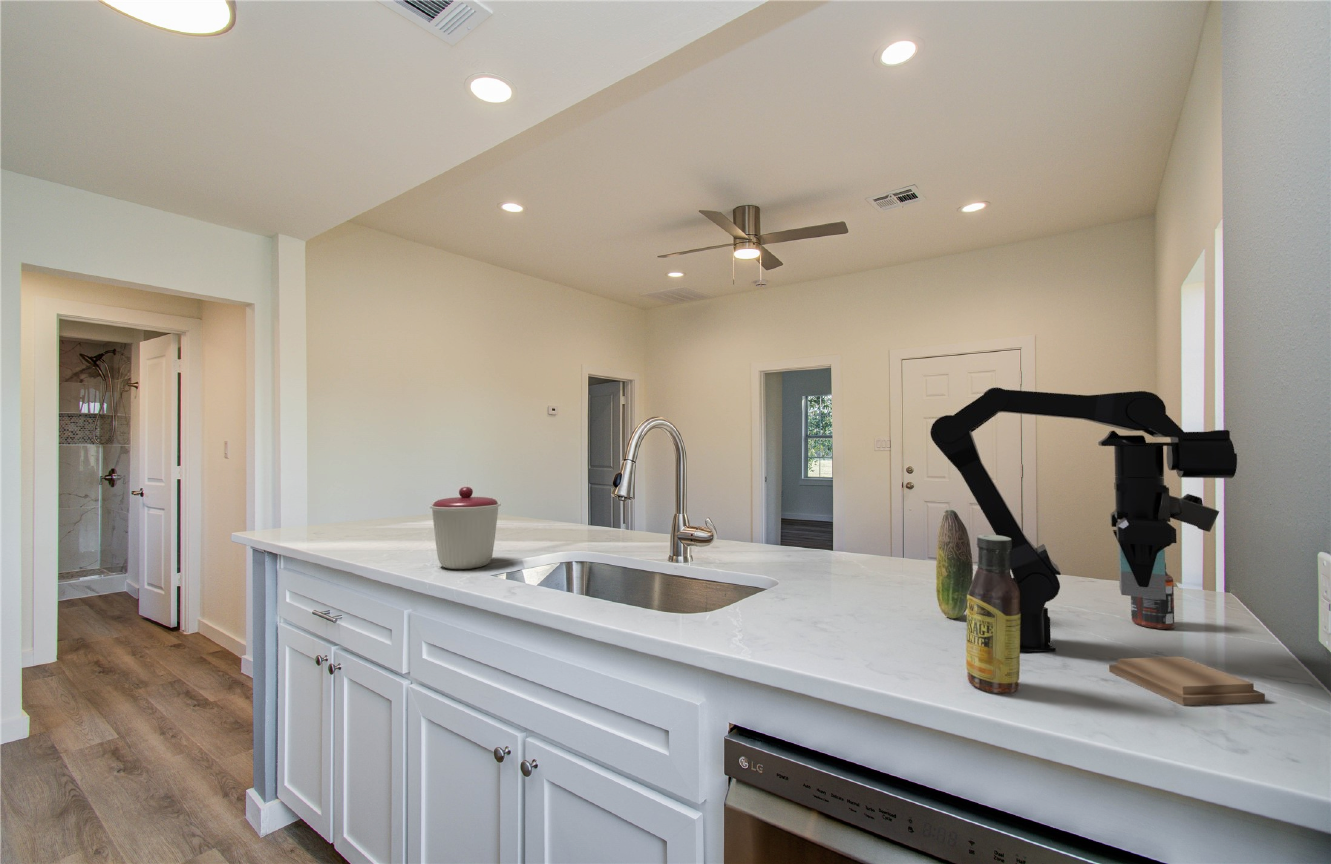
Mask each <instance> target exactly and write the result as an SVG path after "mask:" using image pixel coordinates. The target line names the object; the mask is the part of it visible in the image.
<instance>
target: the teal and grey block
mask: <svg viewBox="0 0 1331 864" xmlns="http://www.w3.org/2000/svg"><path fill="white" fill-rule="evenodd" d="M1117 544H1118V574H1119V575H1118V576H1119V577H1118V578H1119V579H1118V581H1119V586H1118V587H1119V590H1120V594H1121V596H1126V597H1127V596H1129V597H1131V596H1136V597H1145V598H1154V599H1163V600H1166V581H1165V563H1166V550H1165V548H1164V549H1163V550H1161V551H1160V552H1158V554H1157V557H1156V560H1155V564H1154V568H1153V571H1152V575H1151V579H1150V583H1149V586H1148V587H1140V586H1138V584H1137V582H1136V579H1135V577H1134V575H1133V573H1132V571H1131V569H1130V566H1129V564H1128V562H1127V560H1126V558H1125V556H1124V553H1123V551H1122V549H1121V547H1120V545H1119V543H1118V542H1117Z"/></svg>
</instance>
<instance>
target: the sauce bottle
mask: <svg viewBox="0 0 1331 864" xmlns="http://www.w3.org/2000/svg"><path fill="white" fill-rule="evenodd" d="M976 547H977V548H978V549H977V552H978V553H977V554H978V555H977V562H978V563H977V569H976V571H975V573H974V574H973V580H972V583H971V586H970V589H969V591H968V594H967V610H966V635H965V636H966V643H965V644H966V646H965V647H966V649H965V650H966V653H965V654H966V655H965V660H966V661H965V668H966V671H967V673H966V677H967V681H968V683H969V684H970V685H972V686H973V687H974V688H978V689H980V690H982V691H984V692H987V693H992V694H1011V693H1012V694H1013V693H1015V692H1016V691H1018V690H1019V686H1020V684H1019V681H1020V661H1021V660H1020V659H1021V656H1020V655H1021V652H1020V611H1019V608H1020V604H1019V602H1020V593H1019V588H1018V587H1017V585H1016V583H1015V582H1014V580H1013V579H1012V578H1013V575H1012V572H1011V567H1010V551H1011V549H1012V539H1011V538H1009V537H1005V536H999V535H996V534H980V535H978V536H977V537H976Z"/></svg>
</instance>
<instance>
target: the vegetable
mask: <svg viewBox="0 0 1331 864" xmlns="http://www.w3.org/2000/svg"><path fill="white" fill-rule="evenodd" d="M938 528H939V529H938V534H937V547H936V566H935V568H936V573H935V574H936V575H935V579H936V580H935V581H936V582H935V583H936V585H935V587H936V588H935V589H936V590H935V592H936V599H937V603H938V607H939V609H940V611H941V612H942V614H943V615H944V616H945V617H947V618H948V619H958V618H961V617H963V615H964V614H965V613H966V612H967V594H968V591H969V589H970V586H971V583H972V581H973V578H974V567H973V565H974V561H973V554H972V548H971V547H972V546H971V542H970V541H971V539H970V537H969V533H968V529H967V527H966V525H965V524H964V522H963V520H962V519H961V518H960V516H959V514H958V513H957V511H955V510H954V509H946V510H945V511H944V512H943V514H942V518H941V522H940V525H939V527H938Z"/></svg>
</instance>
